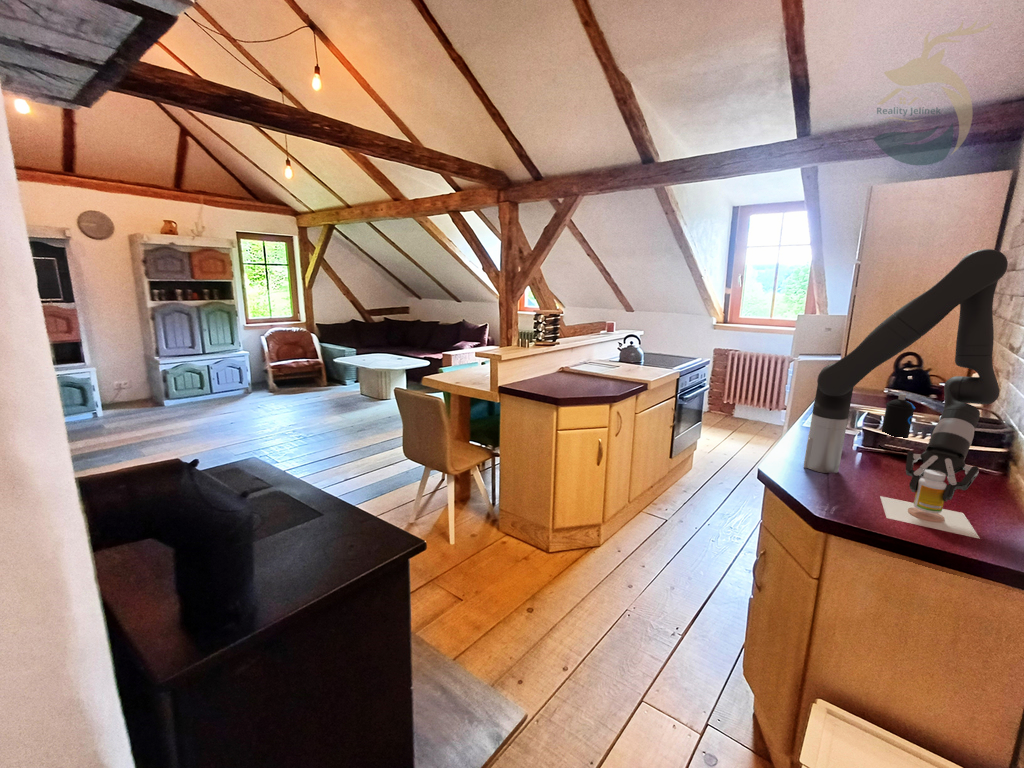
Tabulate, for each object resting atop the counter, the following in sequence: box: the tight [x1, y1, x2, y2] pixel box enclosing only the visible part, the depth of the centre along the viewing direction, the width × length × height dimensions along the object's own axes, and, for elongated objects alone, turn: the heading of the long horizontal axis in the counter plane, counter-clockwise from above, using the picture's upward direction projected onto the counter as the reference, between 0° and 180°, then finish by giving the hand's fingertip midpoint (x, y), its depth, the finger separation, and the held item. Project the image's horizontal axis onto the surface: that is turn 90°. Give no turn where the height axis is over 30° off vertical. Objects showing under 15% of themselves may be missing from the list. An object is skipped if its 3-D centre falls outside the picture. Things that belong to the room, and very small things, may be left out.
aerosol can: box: [881, 393, 916, 439], centre depth 170 cm, size 8×8×20 cm
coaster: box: [908, 508, 945, 522], centre depth 119 cm, size 7×7×1 cm
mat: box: [879, 495, 981, 539], centre depth 119 cm, size 17×15×1 cm
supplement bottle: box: [913, 470, 948, 513], centre depth 118 cm, size 5×5×10 cm
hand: (928, 495), depth 117 cm, fingers closed on supplement bottle, 5 cm apart
